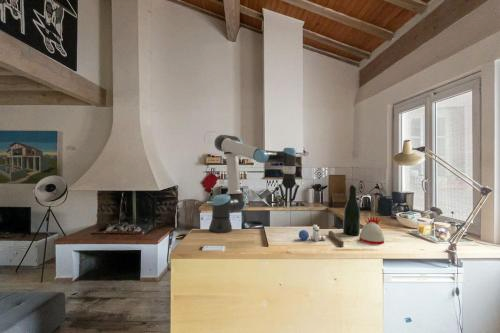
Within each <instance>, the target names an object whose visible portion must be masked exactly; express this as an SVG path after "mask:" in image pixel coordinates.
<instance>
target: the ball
mask: <svg viewBox="0 0 500 333" xmlns="http://www.w3.org/2000/svg"><path fill="white" fill-rule="evenodd" d="M309 236H310V234H309V232H308V231H307V230H306V229H302V230H300V231H299V232H298V238H299V239H300V240H302V241H306V240H308V239H309Z"/></svg>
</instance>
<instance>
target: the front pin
mask: <svg viewBox="0 0 500 333" xmlns="http://www.w3.org/2000/svg"><path fill="white" fill-rule="evenodd" d="M310 240H311V241H314V240H315V236H313V235H310ZM319 241H326V236H324V235H319Z"/></svg>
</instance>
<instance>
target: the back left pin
mask: <svg viewBox="0 0 500 333" xmlns="http://www.w3.org/2000/svg"><path fill="white" fill-rule="evenodd" d="M315 227H318V225H317V224H313V225H312V236H315Z"/></svg>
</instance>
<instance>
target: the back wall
mask: <svg viewBox="0 0 500 333" xmlns="http://www.w3.org/2000/svg"><path fill="white" fill-rule="evenodd" d="M328 237H329V238H330V239H332V240H333V242H335V243H336V244H337V245H338V247H340V248H341V247H342V248H343V247H344V240H343V239H341V238H340V237H339V236H338V235H337V234H336V233H334V232H333V231H332V230H328Z"/></svg>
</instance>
